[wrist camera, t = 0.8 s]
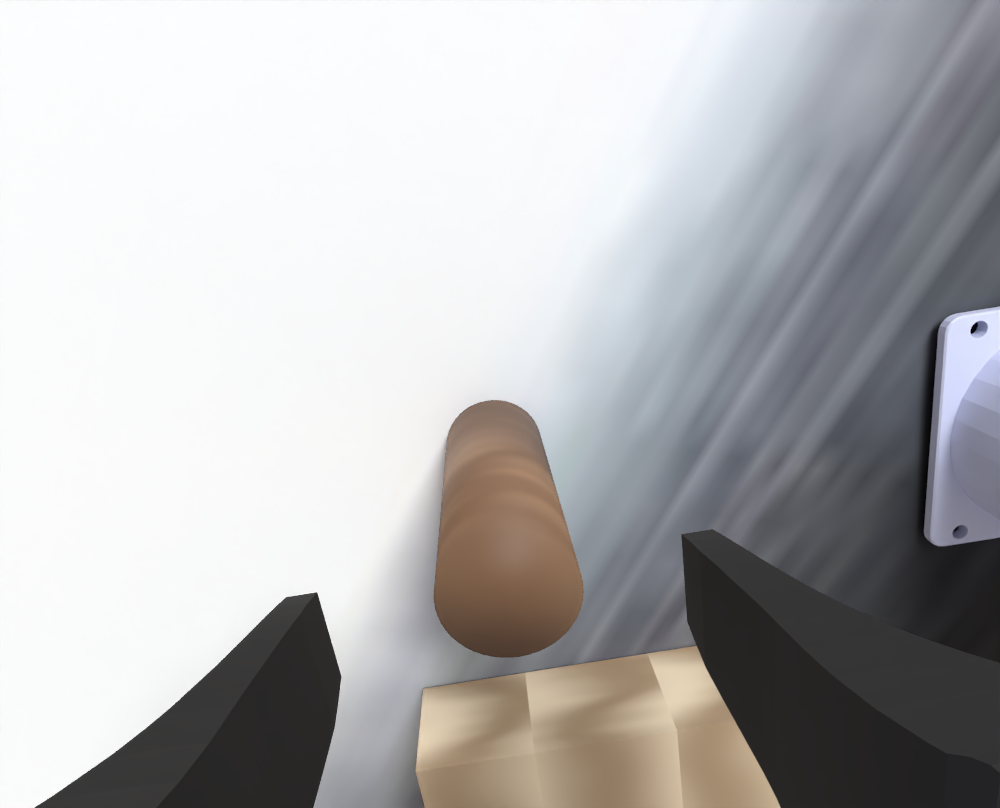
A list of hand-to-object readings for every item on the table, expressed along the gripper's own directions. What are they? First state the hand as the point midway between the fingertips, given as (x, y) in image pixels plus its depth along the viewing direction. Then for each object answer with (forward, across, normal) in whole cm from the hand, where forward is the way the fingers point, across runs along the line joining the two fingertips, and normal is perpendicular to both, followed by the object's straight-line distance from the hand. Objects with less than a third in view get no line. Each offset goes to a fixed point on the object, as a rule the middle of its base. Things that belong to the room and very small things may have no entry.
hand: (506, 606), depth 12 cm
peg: (+8, 0, 0) cm, 8 cm away
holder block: (+8, -2, +15) cm, 17 cm away
